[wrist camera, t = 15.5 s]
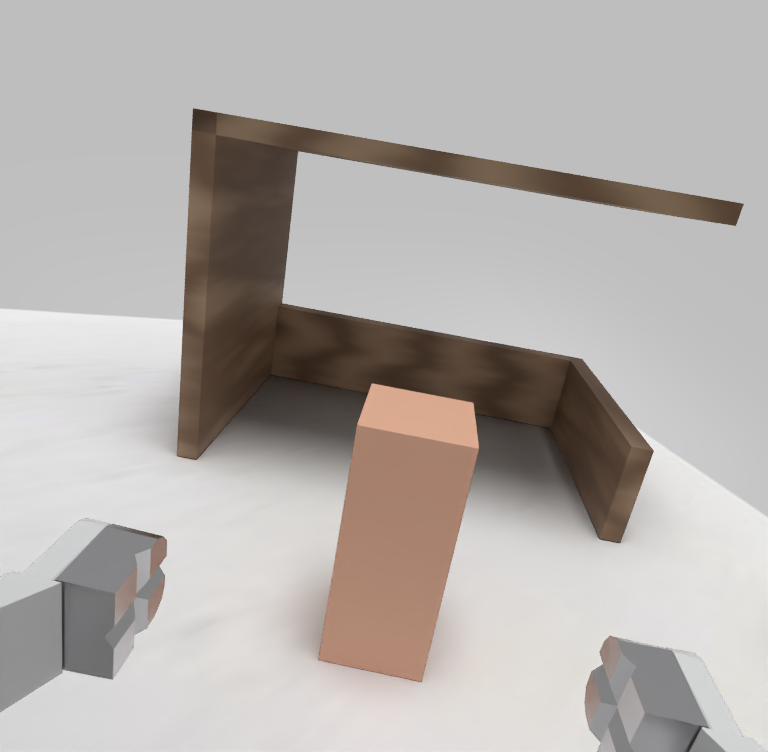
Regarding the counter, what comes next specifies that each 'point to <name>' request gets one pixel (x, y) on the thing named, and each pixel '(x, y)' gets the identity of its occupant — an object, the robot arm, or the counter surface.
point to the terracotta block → (398, 529)
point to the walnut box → (373, 338)
